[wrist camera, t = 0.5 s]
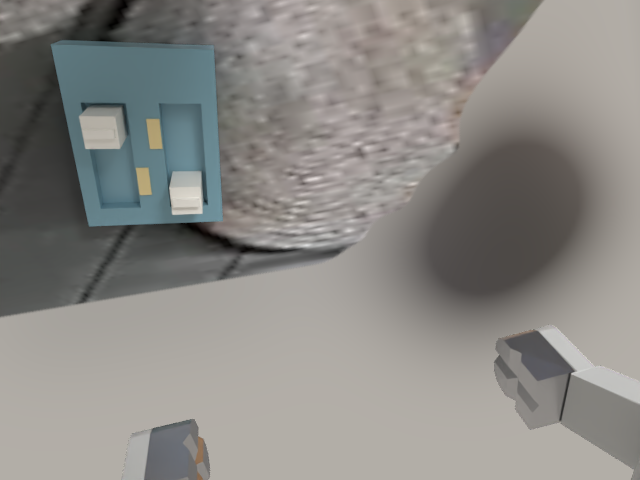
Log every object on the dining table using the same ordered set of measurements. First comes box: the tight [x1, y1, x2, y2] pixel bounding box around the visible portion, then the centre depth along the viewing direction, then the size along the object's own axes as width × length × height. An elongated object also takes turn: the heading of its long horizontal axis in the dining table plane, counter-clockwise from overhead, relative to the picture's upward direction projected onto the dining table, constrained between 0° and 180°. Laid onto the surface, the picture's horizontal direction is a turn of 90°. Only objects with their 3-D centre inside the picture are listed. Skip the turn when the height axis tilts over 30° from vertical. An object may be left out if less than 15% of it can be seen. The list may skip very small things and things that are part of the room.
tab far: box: [169, 171, 203, 215], centre depth 48 cm, size 3×3×5 cm
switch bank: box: [51, 40, 223, 226], centre depth 48 cm, size 18×14×4 cm
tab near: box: [79, 105, 128, 149], centre depth 44 cm, size 3×3×5 cm
